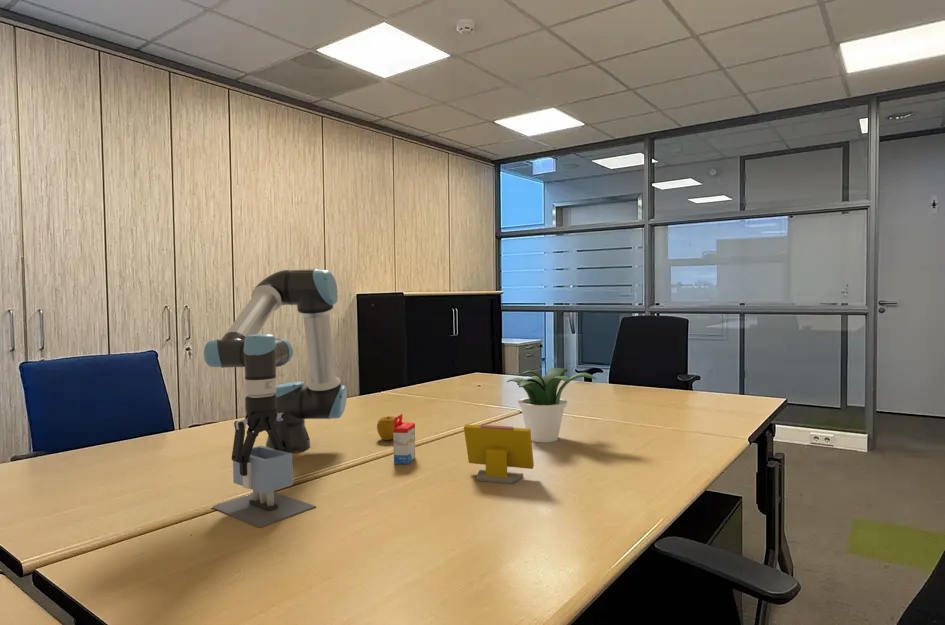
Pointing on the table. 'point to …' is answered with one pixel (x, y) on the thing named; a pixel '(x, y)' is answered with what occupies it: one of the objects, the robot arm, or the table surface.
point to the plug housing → (267, 469)
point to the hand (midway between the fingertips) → (262, 482)
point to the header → (263, 508)
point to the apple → (386, 427)
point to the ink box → (403, 441)
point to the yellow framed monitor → (499, 451)
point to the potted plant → (544, 403)
